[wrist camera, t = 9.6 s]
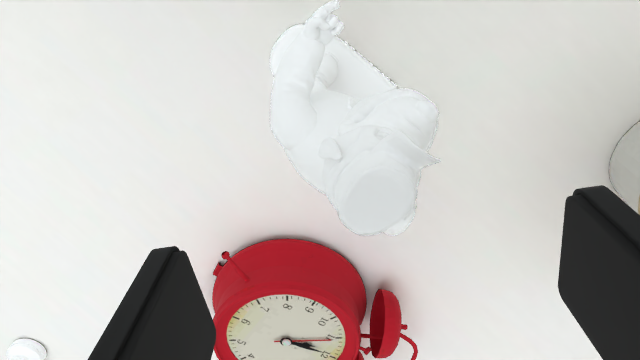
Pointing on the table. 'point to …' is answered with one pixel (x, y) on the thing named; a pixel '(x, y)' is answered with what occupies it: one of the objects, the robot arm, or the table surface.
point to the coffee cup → (627, 168)
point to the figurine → (349, 126)
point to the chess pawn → (26, 350)
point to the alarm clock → (298, 306)
